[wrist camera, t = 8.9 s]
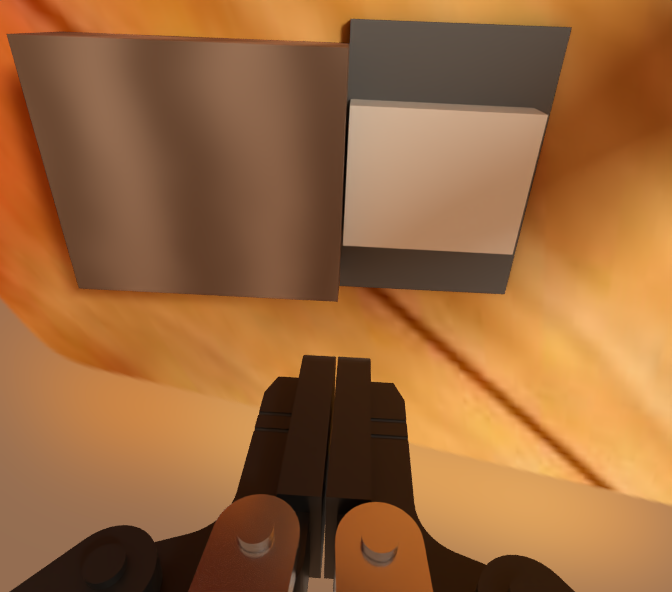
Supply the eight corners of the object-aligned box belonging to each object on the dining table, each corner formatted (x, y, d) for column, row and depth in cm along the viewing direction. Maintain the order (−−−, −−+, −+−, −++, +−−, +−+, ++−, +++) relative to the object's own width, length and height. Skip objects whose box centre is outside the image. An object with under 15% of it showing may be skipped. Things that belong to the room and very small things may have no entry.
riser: (350, 43, 22) (348, 47, 19) (340, 267, 28) (337, 301, 25) (60, 31, 23) (6, 33, 19) (112, 256, 29) (78, 288, 25)
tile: (534, 107, 23) (548, 115, 21) (502, 239, 27) (512, 254, 25) (350, 99, 23) (350, 105, 21) (344, 230, 27) (342, 245, 25)
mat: (567, 27, 22) (571, 27, 21) (502, 289, 29) (504, 294, 28) (350, 18, 22) (350, 18, 21) (339, 281, 29) (339, 285, 29)
